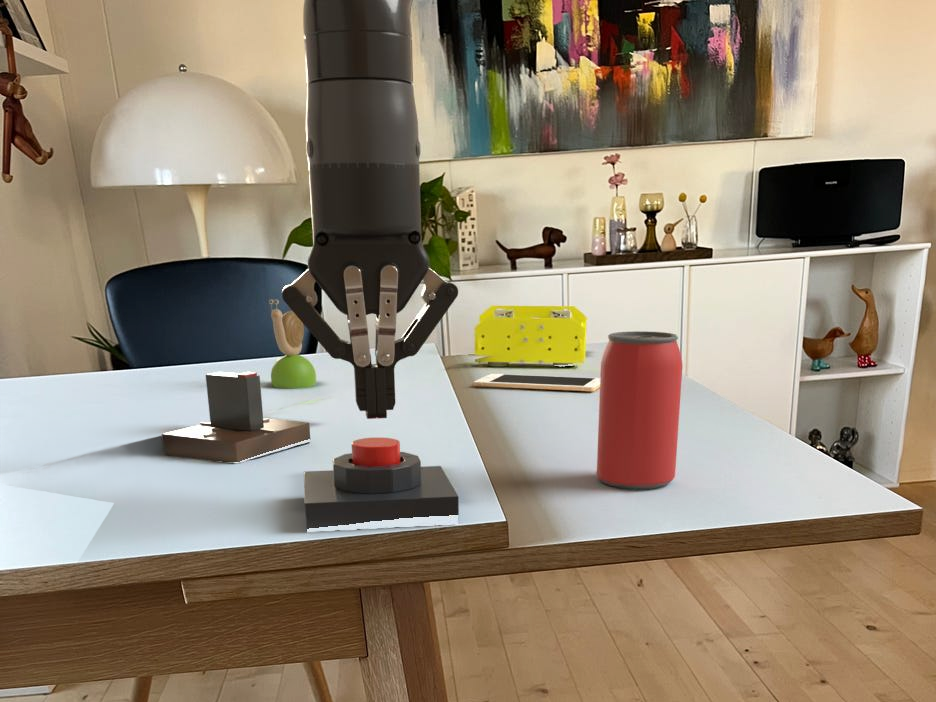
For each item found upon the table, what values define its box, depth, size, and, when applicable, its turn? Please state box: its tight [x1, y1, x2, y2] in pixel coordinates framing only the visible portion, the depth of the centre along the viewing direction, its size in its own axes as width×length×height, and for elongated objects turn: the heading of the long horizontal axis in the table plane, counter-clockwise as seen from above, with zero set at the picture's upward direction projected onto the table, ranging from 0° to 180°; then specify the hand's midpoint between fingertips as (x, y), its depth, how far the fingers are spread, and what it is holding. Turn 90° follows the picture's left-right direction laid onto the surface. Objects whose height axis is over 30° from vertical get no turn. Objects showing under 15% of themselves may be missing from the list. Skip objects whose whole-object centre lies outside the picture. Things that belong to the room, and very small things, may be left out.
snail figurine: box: [268, 298, 317, 390], centre depth 125 cm, size 5×6×12 cm
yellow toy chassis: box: [474, 305, 588, 367], centre depth 154 cm, size 16×6×8 cm, turn 82°
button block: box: [303, 451, 460, 530], centre depth 79 cm, size 11×10×4 cm
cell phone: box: [473, 373, 600, 392], centre depth 137 cm, size 8×16×1 cm, turn 72°
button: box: [351, 436, 401, 466], centre depth 78 cm, size 4×4×2 cm
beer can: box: [596, 330, 684, 490], centre depth 86 cm, size 7×7×12 cm
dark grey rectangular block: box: [205, 371, 264, 431], centre depth 100 cm, size 5×2×5 cm, turn 61°
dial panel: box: [161, 417, 311, 463], centre depth 101 cm, size 11×9×2 cm
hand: (375, 416), depth 77 cm, fingers closed
